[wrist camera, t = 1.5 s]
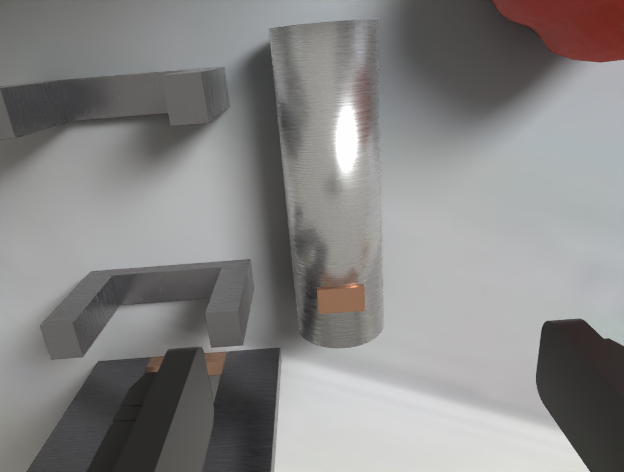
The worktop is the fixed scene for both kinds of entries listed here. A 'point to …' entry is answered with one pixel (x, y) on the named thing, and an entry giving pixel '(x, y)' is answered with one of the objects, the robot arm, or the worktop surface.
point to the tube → (332, 176)
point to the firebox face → (226, 425)
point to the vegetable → (573, 26)
